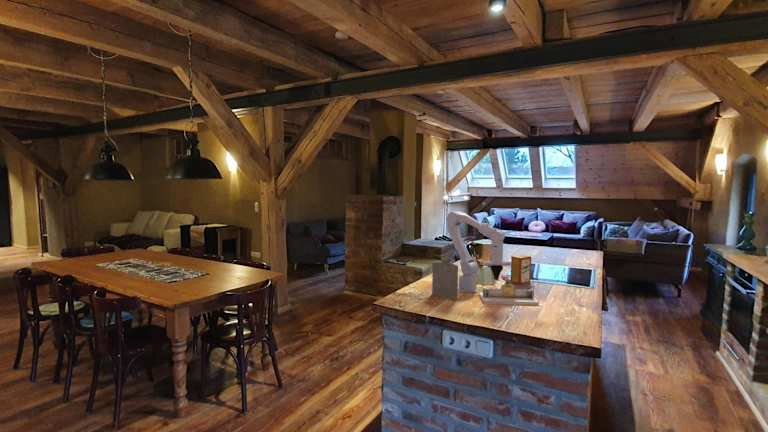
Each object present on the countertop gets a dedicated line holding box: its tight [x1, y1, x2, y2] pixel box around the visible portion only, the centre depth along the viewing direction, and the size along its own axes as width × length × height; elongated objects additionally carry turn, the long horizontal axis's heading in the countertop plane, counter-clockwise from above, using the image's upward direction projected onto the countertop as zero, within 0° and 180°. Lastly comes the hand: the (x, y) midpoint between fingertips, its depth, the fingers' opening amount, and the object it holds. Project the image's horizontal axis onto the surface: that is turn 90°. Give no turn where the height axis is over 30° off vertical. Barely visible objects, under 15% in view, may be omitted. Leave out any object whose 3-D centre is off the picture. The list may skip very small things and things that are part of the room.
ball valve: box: [482, 282, 535, 299], centre depth 193 cm, size 24×6×7 cm, turn 85°
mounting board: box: [478, 291, 540, 306], centre depth 193 cm, size 26×14×2 cm, turn 85°
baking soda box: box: [510, 254, 532, 286], centre depth 226 cm, size 10×6×16 cm
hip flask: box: [431, 257, 459, 302], centre depth 197 cm, size 16×4×20 cm, turn 40°
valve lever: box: [500, 274, 512, 284], centre depth 197 cm, size 12×3×2 cm, turn 176°
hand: (496, 279), depth 200 cm, fingers closed
